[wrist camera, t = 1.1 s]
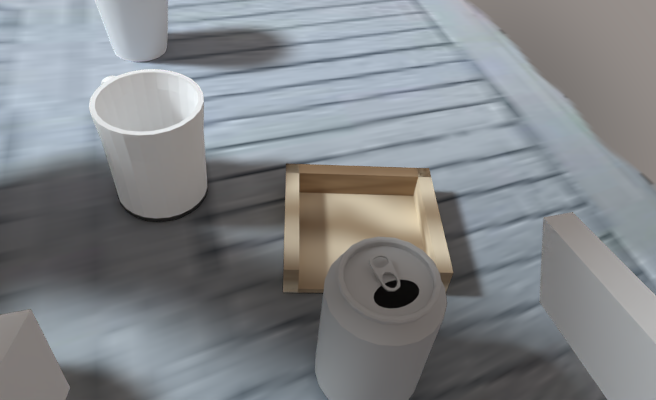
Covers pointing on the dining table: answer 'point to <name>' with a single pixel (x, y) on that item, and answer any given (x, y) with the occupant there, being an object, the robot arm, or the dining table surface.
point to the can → (378, 320)
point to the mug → (153, 141)
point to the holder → (355, 217)
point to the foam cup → (136, 27)
